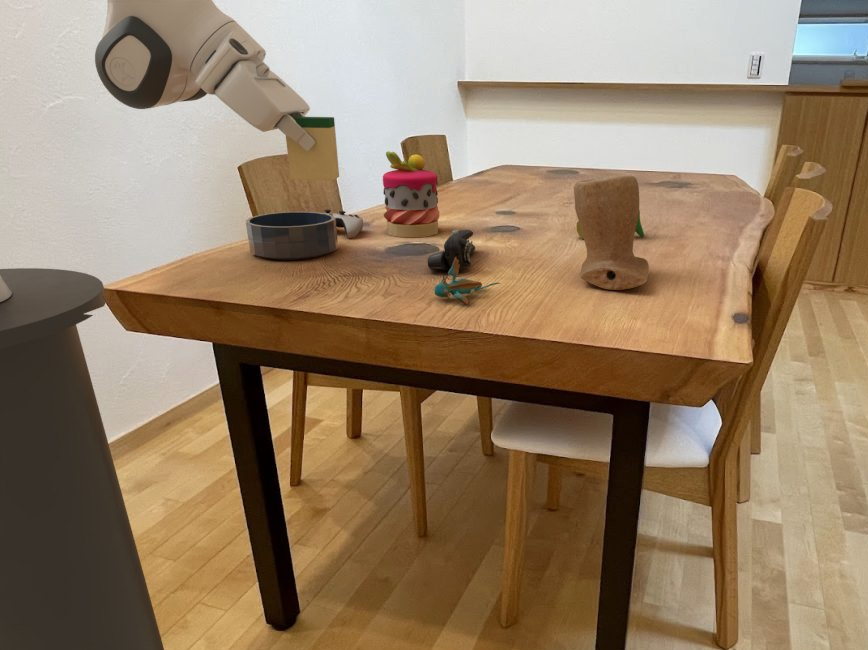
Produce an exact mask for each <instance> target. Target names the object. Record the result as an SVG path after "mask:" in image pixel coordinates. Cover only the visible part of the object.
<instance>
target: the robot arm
mask: <svg viewBox="0 0 868 650" xmlns="http://www.w3.org/2000/svg"><path fill="white" fill-rule="evenodd" d="M106 1H107V10H106V18H105V23H104V29H103V33H102V36H101V39H100V41H99V42H98V43H97V45H96V48H95V52H94V65H95V68H96V71H97V75H98V77H99V79H100V81H101V83H102V85H103V86H104V88H105V89H106V90H107V91H108V92H109V94H110V95H111V96H112V97H113V98H114V99H115V100H117V101H118V102H119V103H121V104H123V105H125V106H126V107H129V108H132V109H137V110H147V109H154V108H158V107H164V106H168V105H172V104H176V103H178V102H182V103H183V102H192V101H193V102H194V101H198V100H201V99H202V98H204V97H205V96H207V95H213V96H215V97H217V98H218V99H219V100H220V101H221V102H222V103H223V104H225V105H226V106H227V107H228V108H230V109H231V110H232V111H233V112H234V113H236V114H237V115H238V116H239V117H240V118H242V119H243V120H244V121H245V122H247V123H248V124H249V125H250V126H252V127H254V128H255V129H257V130H259V131H261V132H263V133H265V132H270V131H273V130H279V131H280V132H281V133H282V134H284V135H285V137H286V136H288V137H289V138H291V139H292V140H294V141H296V142H297V143H298V144H299V145H300V146H301V147H303V148H304V149H305V150H307V151H308V150H311V149H312V148H313V147H314V146H315V144H316V139H315V138H314V137H312V135H310V134H309V133H308V132H306V131H305V130H304V129H303V128H302V127H301V126H300V125H298V124H297V123H296V121H295V120H294V119H293V118H292V117H306V115H307V114H308V112H309V111H310V109H311V107H310V105H309V104H308V102H307V101H306V100H305V99H304V98H303V97H302V96H300V95H299V93H297V92H296V91H295V90H294V89H293V88H292V87H291V86H290V85H289V84H287V83H286V82H285V80H283V79H282V78H281V77H280V76H279V75H277V74H276V73H275V72H274V71H272V70H271V68H270V66H268V64H266V63H265V62H264V61H265V58H266V55H267V52H266V50H265V49H264V47H263V46H262V45H261V44H259V42H257V40H256V39H255V38H254V37H252V36H251V35H250V34H249V33H248V31H246V30H245V29H244V27H242V26H241V25H240V23H238V22H237V21H236V20H235V19H234V18H232V17H231V16H230V15H227V14H226V13H224V12H223V11H222V10H221V9H219V8H218V7H217V5H216V4H215V2H214V1H213V0H106ZM11 295H12V291H11V290H10V289H9V287H8V286H7V285H6V283H5V282H4V280H3V279H2V277H1V276H0V302H2V301H4V300H6V299H8V298H9V297H10V296H11Z"/></svg>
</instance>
